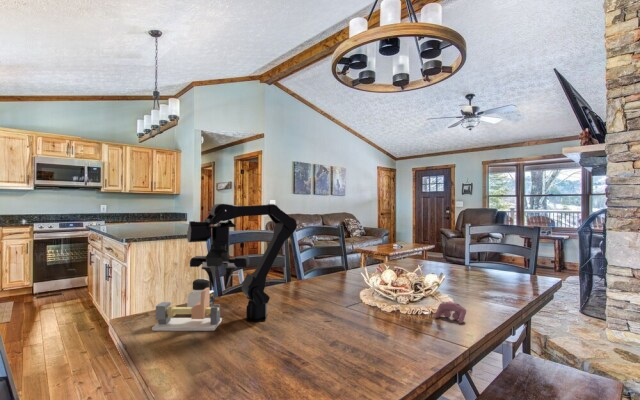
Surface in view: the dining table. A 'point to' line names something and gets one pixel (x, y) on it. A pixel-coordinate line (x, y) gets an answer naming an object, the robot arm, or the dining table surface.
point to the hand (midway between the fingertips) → (220, 286)
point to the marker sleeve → (201, 305)
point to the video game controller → (450, 306)
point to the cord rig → (185, 324)
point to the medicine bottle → (199, 293)
